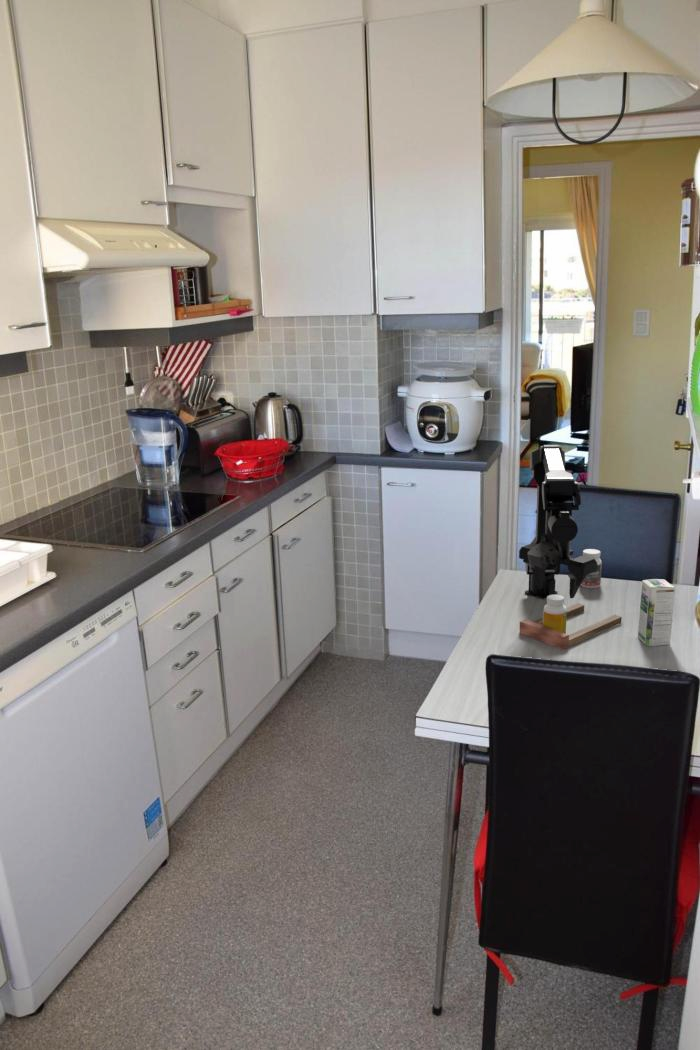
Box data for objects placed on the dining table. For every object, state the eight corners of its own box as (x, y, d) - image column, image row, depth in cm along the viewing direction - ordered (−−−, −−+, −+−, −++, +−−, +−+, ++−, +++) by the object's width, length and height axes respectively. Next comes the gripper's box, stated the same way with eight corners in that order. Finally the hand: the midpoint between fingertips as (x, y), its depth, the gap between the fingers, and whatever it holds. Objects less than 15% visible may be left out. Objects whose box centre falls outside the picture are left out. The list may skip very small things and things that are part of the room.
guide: (519, 632, 205) (519, 621, 205) (577, 608, 219) (578, 597, 218) (563, 649, 196) (563, 637, 195) (621, 622, 209) (621, 611, 209)
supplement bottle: (566, 640, 201) (567, 601, 198) (542, 639, 202) (544, 600, 199) (565, 631, 206) (566, 593, 203) (542, 630, 207) (543, 592, 204)
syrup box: (636, 637, 201) (640, 579, 197) (660, 635, 201) (665, 578, 197) (646, 646, 195) (650, 587, 191) (671, 645, 196) (676, 586, 192)
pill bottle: (580, 588, 234) (582, 554, 231) (578, 581, 239) (579, 548, 236) (601, 588, 233) (603, 554, 230) (598, 581, 238) (600, 548, 235)
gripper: (504, 529, 198) (503, 591, 203) (569, 545, 184) (566, 612, 189) (534, 520, 205) (533, 580, 209) (600, 535, 191) (597, 600, 195)
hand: (555, 593), depth 200 cm, fingers open, 9 cm apart
